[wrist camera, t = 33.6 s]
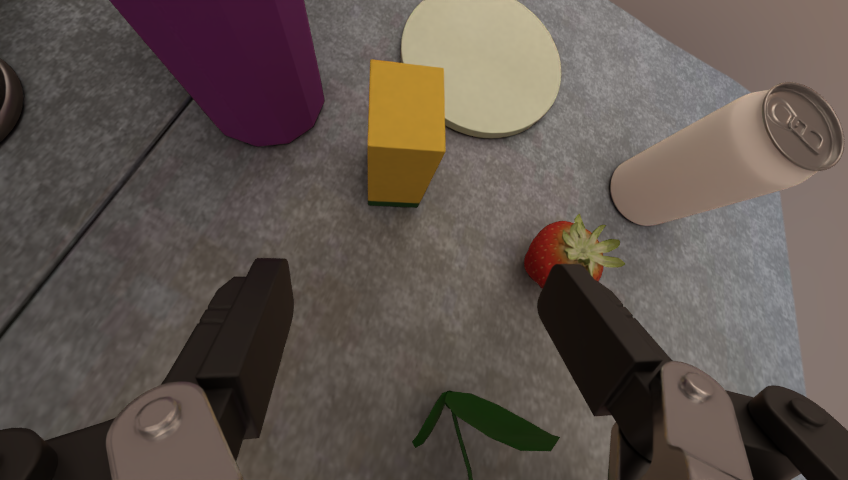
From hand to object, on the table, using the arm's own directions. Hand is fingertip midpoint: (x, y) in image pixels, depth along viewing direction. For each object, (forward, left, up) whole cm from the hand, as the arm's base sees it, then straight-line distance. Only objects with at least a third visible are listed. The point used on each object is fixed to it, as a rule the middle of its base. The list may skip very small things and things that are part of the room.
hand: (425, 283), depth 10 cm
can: (+13, +21, -15) cm, 29 cm away
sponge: (-5, +8, -15) cm, 18 cm away
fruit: (+8, +9, -15) cm, 20 cm away
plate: (-6, +22, -15) cm, 27 cm away
